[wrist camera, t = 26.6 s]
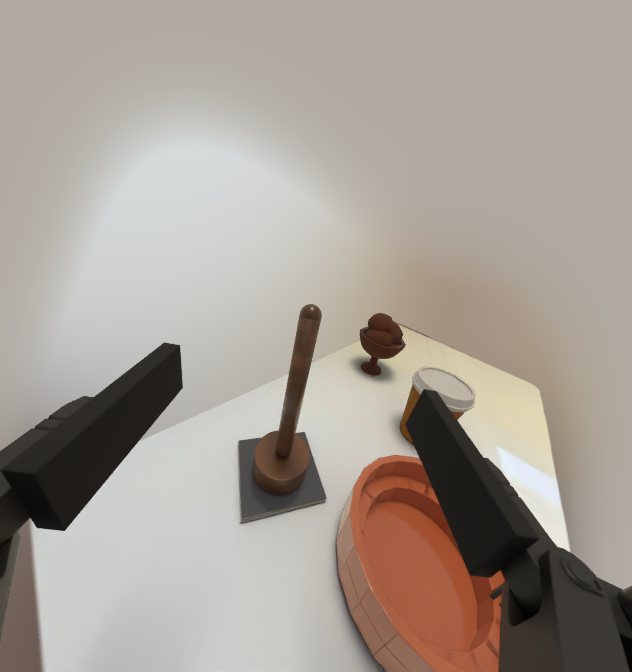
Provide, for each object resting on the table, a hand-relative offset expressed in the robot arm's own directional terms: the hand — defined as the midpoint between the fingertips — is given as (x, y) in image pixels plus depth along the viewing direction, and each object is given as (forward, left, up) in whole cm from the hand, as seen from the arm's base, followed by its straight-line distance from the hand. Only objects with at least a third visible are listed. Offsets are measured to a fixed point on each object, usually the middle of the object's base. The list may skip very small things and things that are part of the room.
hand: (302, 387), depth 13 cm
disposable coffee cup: (+29, +11, -22) cm, 38 cm away
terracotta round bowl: (+15, -4, -22) cm, 27 cm away
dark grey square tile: (+3, +9, -22) cm, 24 cm away
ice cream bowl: (+31, +31, -22) cm, 49 cm away
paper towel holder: (+3, +9, -21) cm, 24 cm away
